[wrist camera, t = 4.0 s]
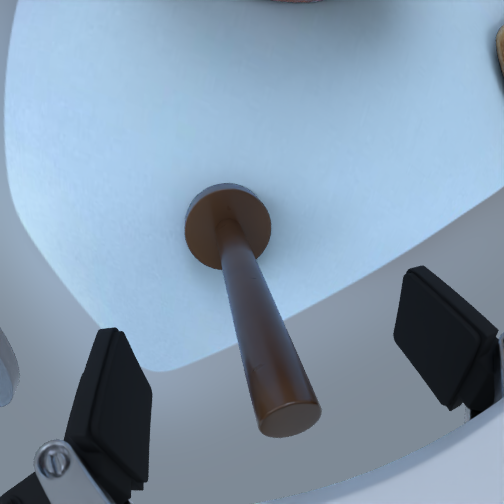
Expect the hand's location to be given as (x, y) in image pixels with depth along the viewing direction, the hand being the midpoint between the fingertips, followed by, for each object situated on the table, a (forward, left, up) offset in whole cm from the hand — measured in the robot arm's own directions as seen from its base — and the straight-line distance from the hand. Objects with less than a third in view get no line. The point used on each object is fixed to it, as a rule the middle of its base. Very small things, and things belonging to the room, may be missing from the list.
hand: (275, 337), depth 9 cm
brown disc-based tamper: (0, 0, -11) cm, 11 cm away
